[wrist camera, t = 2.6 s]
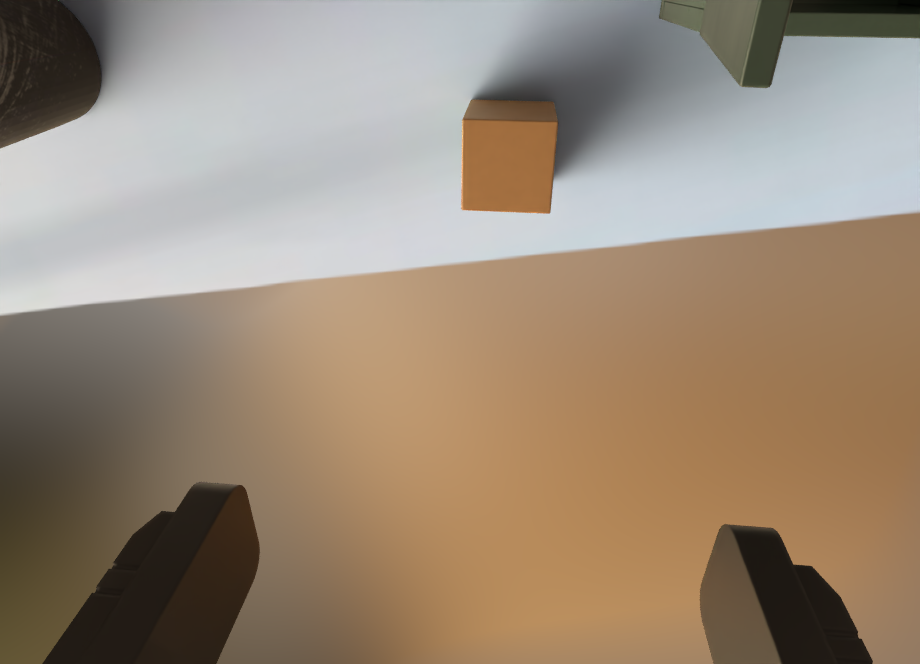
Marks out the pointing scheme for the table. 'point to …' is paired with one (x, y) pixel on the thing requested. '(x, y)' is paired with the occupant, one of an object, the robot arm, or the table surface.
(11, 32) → the travel mug
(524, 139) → the carton
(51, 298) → the table surface
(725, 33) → the bin lid
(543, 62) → the table surface
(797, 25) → the bin
